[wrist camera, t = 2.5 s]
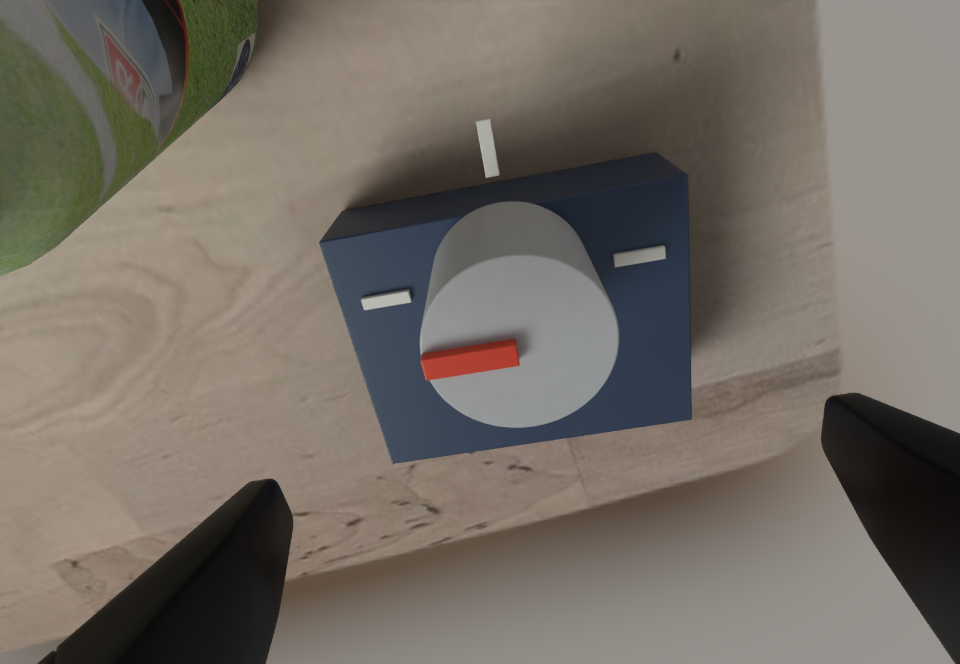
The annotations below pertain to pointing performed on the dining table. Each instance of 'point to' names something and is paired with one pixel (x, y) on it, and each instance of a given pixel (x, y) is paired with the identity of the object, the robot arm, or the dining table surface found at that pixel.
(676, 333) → the rotary dial base
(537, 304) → the grey rotary knob
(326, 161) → the dining table surface
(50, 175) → the beverage can
